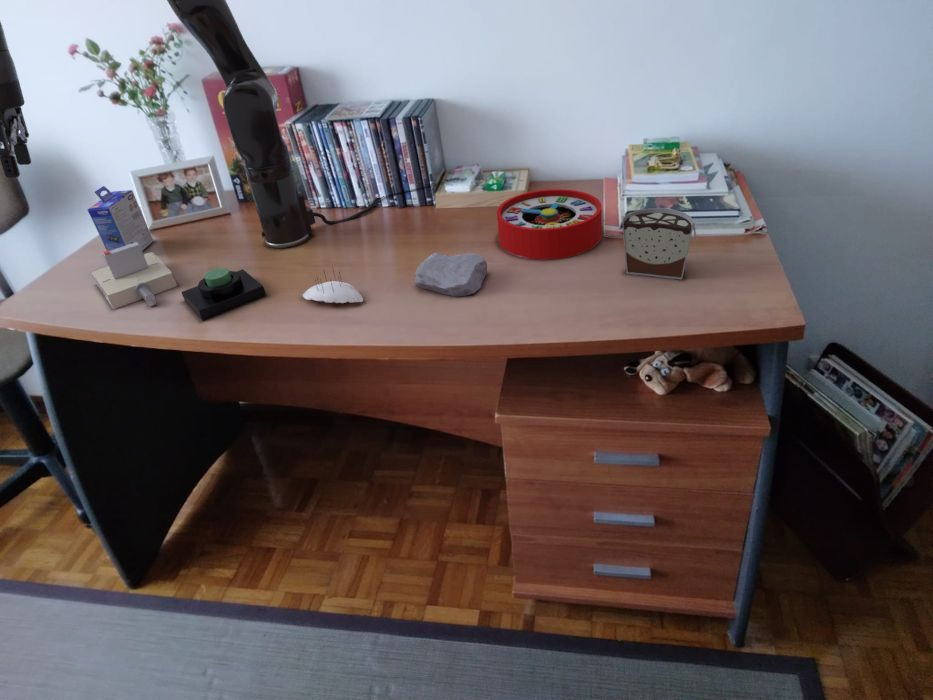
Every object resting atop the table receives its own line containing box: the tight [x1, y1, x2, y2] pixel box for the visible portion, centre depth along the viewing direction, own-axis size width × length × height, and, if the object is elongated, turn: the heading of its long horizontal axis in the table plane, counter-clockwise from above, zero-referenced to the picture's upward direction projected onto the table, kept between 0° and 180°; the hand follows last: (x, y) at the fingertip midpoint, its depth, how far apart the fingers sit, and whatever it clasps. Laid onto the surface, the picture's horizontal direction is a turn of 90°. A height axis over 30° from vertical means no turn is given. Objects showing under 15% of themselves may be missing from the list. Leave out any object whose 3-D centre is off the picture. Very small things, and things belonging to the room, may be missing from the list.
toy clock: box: [496, 188, 603, 260], centre depth 131 cm, size 20×6×20 cm
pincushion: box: [301, 266, 364, 305], centre depth 118 cm, size 12×6×6 cm, turn 70°
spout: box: [135, 282, 157, 307], centre depth 125 cm, size 3×5×3 cm, turn 37°
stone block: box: [414, 252, 488, 298], centre depth 120 cm, size 12×5×10 cm
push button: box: [203, 267, 232, 287], centre depth 122 cm, size 4×4×2 cm
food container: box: [618, 207, 697, 280], centre depth 114 cm, size 12×6×10 cm, turn 65°
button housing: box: [181, 268, 267, 322], centre depth 123 cm, size 12×10×4 cm
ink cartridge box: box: [87, 185, 154, 252], centre depth 144 cm, size 10×6×14 cm, turn 174°
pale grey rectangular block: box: [102, 242, 149, 279], centre depth 130 cm, size 6×2×5 cm, turn 127°
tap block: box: [91, 251, 178, 310], centre depth 132 cm, size 12×14×3 cm
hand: (19, 170), depth 126 cm, fingers open, 8 cm apart
